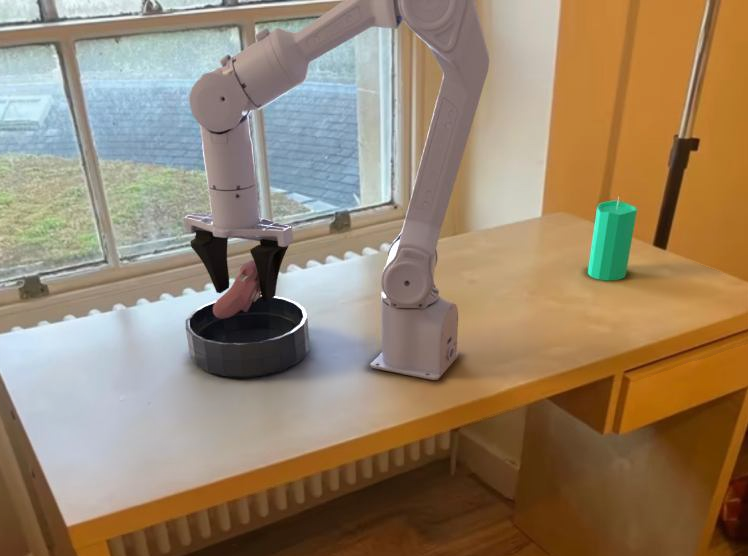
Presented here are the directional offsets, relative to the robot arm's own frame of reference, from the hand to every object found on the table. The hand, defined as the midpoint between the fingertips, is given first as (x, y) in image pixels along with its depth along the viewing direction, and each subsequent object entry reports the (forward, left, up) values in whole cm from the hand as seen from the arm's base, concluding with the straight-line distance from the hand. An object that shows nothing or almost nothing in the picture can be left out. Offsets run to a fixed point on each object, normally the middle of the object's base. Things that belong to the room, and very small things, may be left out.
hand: (245, 294), depth 103 cm
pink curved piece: (0, 0, -2) cm, 2 cm away
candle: (-37, -48, -9) cm, 61 cm away
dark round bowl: (+1, -1, -9) cm, 9 cm away
